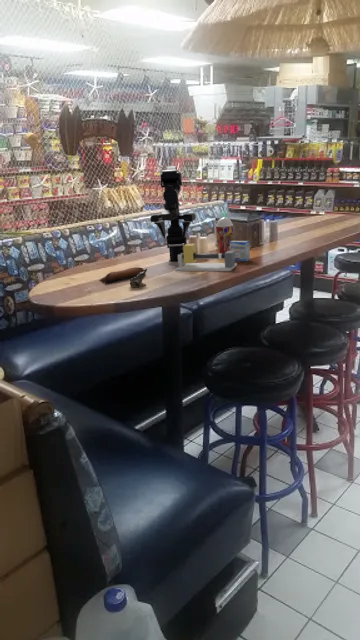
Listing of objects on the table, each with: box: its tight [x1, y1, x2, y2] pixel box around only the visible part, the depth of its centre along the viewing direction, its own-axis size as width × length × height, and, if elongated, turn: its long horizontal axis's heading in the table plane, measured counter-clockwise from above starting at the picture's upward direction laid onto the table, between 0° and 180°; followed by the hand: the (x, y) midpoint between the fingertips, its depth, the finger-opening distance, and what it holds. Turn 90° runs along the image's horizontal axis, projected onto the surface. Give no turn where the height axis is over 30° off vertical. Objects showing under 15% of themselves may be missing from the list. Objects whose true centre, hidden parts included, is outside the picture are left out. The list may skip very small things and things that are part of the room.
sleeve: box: [183, 243, 198, 263], centre depth 221 cm, size 4×5×8 cm
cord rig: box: [174, 251, 238, 272], centre depth 220 cm, size 24×12×7 cm, turn 70°
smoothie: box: [215, 211, 234, 254], centre depth 246 cm, size 8×8×20 cm
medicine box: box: [230, 240, 251, 262], centre depth 230 cm, size 8×4×9 cm, turn 62°
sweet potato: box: [99, 266, 145, 284], centre depth 211 cm, size 18×7×7 cm, turn 125°
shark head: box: [129, 268, 148, 288], centre depth 196 cm, size 8×6×7 cm
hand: (174, 237), depth 222 cm, fingers open, 9 cm apart
